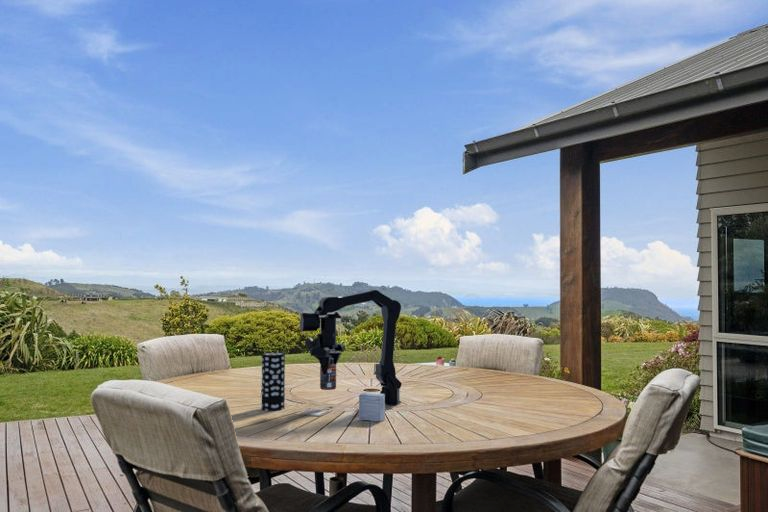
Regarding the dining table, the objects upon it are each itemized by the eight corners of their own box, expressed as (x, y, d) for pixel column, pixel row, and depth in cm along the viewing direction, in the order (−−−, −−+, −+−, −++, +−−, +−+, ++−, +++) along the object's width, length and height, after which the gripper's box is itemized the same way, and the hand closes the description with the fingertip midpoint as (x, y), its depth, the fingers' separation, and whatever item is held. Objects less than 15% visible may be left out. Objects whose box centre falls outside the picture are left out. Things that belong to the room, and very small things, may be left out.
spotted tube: (288, 407, 227) (289, 353, 228) (275, 411, 219) (276, 355, 220) (270, 405, 230) (270, 352, 231) (256, 409, 223) (257, 354, 224)
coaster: (328, 412, 219) (328, 410, 219) (319, 416, 211) (319, 415, 211) (308, 410, 221) (308, 409, 221) (298, 415, 214) (298, 413, 214)
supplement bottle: (333, 390, 222) (333, 359, 223) (317, 390, 223) (318, 359, 224) (338, 387, 228) (338, 357, 229) (322, 387, 229) (322, 357, 230)
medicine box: (385, 419, 207) (385, 393, 207) (380, 422, 203) (380, 395, 203) (363, 417, 209) (363, 392, 210) (358, 420, 205) (358, 394, 206)
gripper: (319, 328, 238) (319, 368, 237) (297, 332, 220) (297, 375, 220) (345, 329, 235) (345, 370, 234) (325, 332, 217) (325, 377, 216)
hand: (328, 373), depth 226 cm, fingers closed on supplement bottle, 6 cm apart
